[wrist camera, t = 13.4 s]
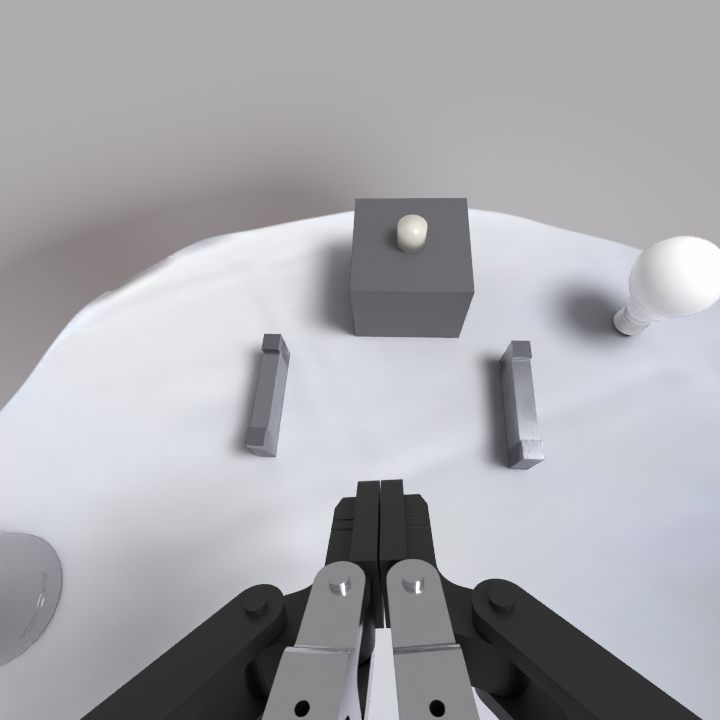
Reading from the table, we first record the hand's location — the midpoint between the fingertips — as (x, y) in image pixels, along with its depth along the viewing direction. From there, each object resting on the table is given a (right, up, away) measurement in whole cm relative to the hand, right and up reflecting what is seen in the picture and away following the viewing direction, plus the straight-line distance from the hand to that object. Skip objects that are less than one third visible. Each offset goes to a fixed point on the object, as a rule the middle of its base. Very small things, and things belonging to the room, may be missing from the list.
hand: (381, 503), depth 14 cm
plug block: (+4, +12, +29) cm, 32 cm away
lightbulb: (+25, +8, +26) cm, 37 cm away
